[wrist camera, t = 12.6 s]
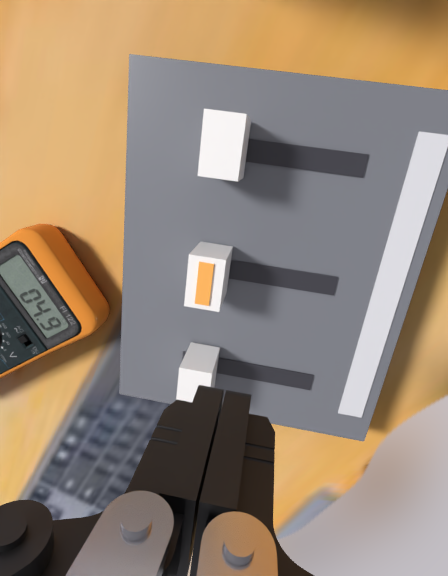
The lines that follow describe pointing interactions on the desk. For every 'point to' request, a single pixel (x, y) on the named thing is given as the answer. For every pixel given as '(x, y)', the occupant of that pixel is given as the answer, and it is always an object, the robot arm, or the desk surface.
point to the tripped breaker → (207, 276)
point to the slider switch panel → (279, 234)
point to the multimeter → (43, 297)
